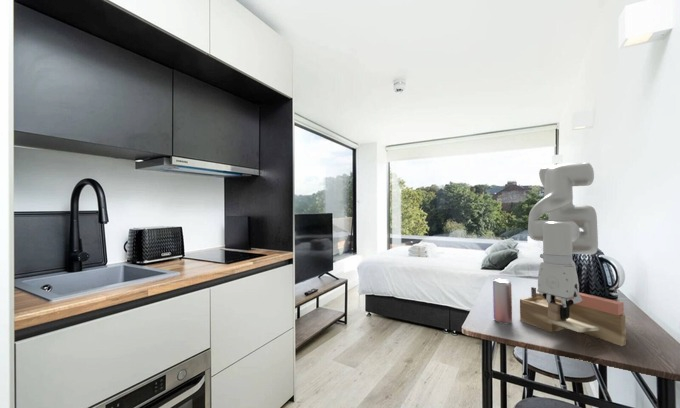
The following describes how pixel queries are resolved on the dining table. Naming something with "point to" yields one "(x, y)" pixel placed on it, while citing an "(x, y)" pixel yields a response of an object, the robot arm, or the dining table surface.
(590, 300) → the pink rectangular block
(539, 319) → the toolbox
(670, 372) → the dining table surface
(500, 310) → the beverage can
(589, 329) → the lid
